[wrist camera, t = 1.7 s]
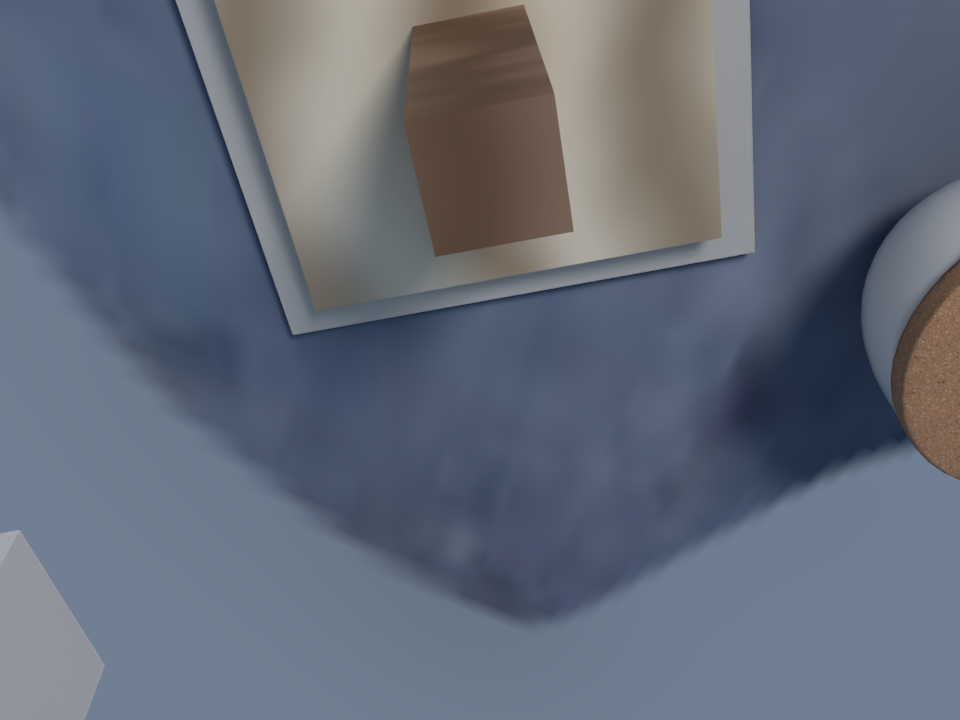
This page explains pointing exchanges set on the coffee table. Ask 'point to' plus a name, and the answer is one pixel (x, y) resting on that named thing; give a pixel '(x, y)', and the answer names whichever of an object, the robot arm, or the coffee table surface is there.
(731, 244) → the mat
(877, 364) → the lidded jar
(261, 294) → the coffee table surface
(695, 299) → the coffee table surface
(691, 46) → the board
